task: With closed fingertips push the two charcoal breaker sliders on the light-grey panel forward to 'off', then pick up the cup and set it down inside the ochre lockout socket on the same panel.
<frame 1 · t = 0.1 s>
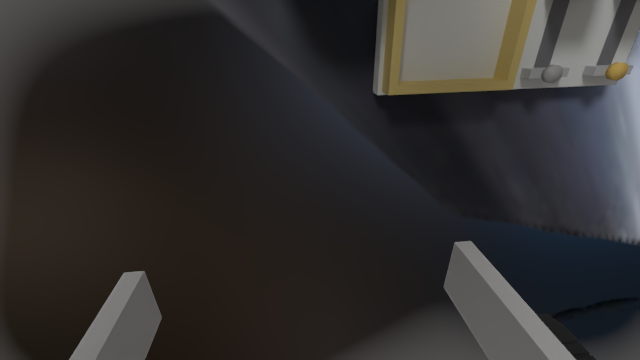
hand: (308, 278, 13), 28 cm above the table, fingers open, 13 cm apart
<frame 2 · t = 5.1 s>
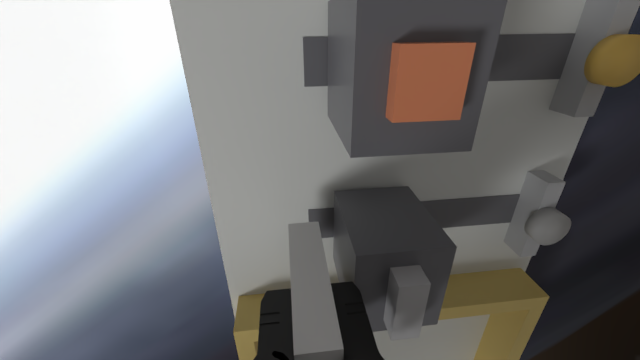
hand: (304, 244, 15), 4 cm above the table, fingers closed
breaker B: (396, 70, 10), point 5 cm above the table, slide at 0.0 cm
panel: (378, 254, 21), on the table
breaker A: (385, 260, 14), point 5 cm above the table, slide at 0.4 cm, touching gripper
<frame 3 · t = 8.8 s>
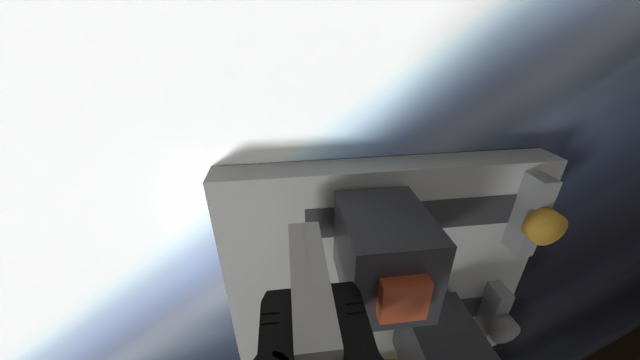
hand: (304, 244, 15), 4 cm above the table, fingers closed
breaker B: (384, 257, 14), point 5 cm above the table, slide at 0.6 cm, touching gripper
panel: (367, 333, 25), on the table
breaker A: (443, 358, 19), point 5 cm above the table, slide at 5.0 cm
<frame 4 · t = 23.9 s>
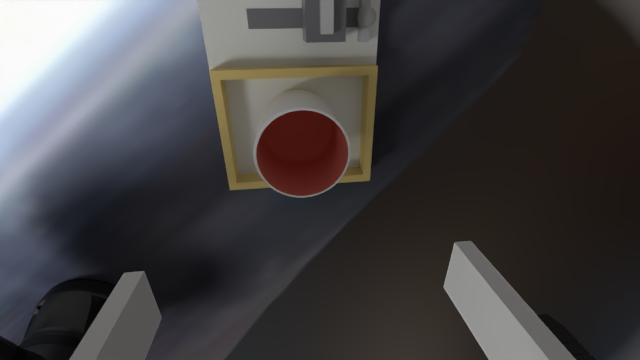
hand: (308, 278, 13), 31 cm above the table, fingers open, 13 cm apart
panel: (294, 59, 37), on the table
breaker A: (323, 17, 31), point 5 cm above the table, slide at 5.0 cm
cup: (297, 126, 40), point 2 cm above the table, touching panel
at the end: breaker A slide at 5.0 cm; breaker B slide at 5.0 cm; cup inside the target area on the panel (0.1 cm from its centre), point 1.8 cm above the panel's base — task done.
